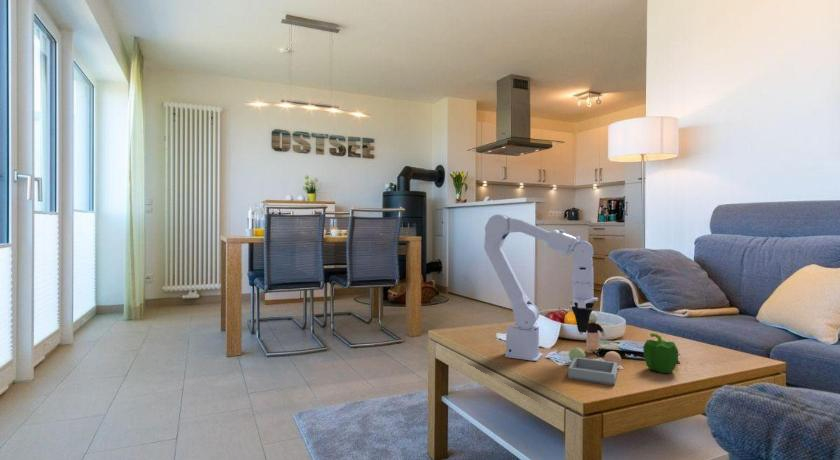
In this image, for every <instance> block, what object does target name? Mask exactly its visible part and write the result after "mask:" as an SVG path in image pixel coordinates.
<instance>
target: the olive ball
mask: <svg viewBox="0 0 840 460" xmlns="http://www.w3.org/2000/svg"><path fill="white" fill-rule="evenodd" d="M568 357H569V360H570V361H571V362H572V361H573V359H574V357H577V358H585V359H586V354H585V351H584V350H583V349H582V348H580V347H573V348H571V349H570V350H569V353H568Z"/></svg>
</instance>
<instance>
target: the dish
mask: <svg viewBox="0 0 840 460" xmlns="http://www.w3.org/2000/svg"><path fill="white" fill-rule="evenodd" d="M567 368H568V369H567V373H568V375H567V379H568V380H575V381H580V382H587V383H593V384H599V385H608V386H615V384H616V380H617V376H618V367H617V363H616V362H608V361H605V360H601V359H600V360H598V359H591V358H586V357H585V358H577V357H574V359H573V361H571V362H570V364H569V366H568V367H567Z"/></svg>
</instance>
